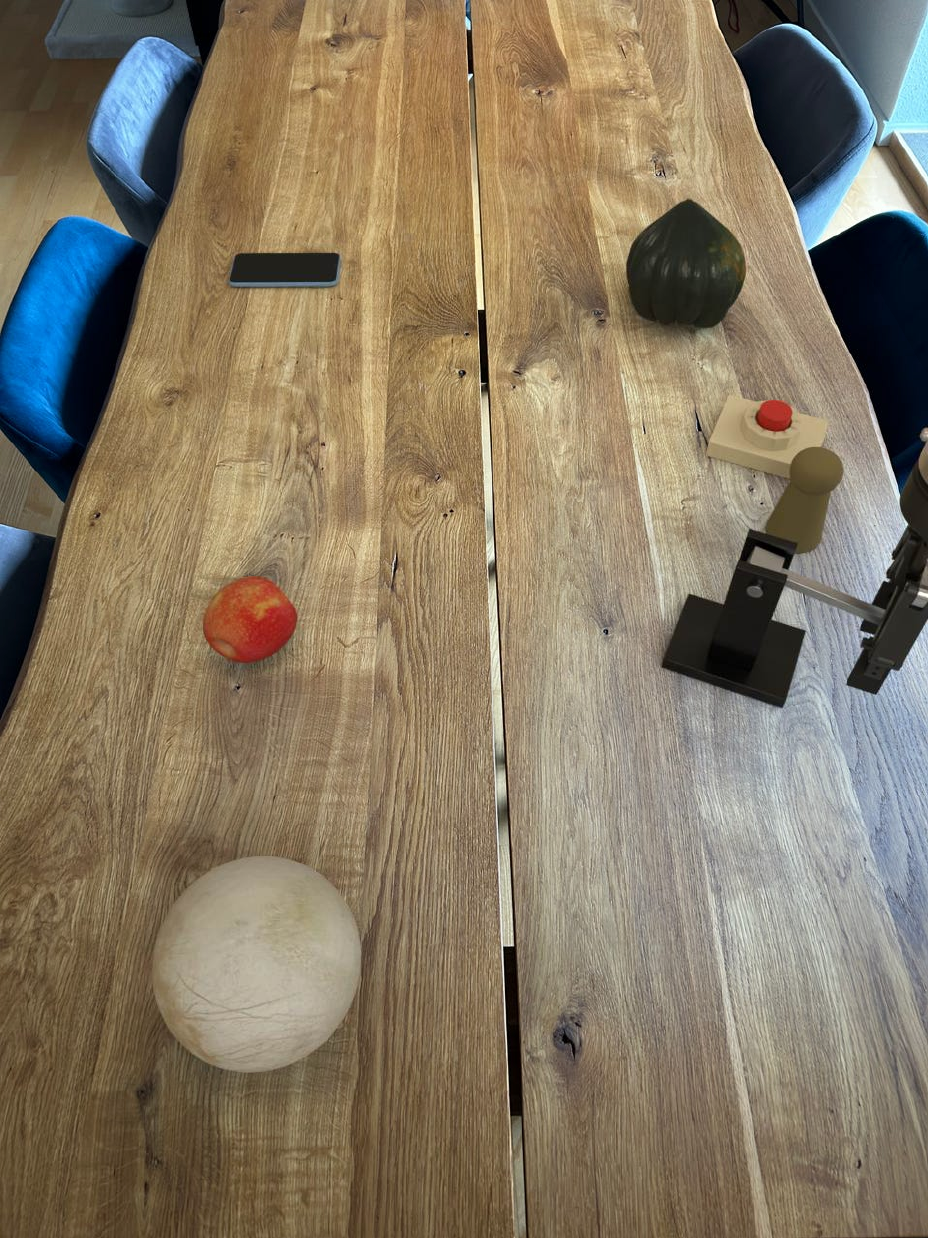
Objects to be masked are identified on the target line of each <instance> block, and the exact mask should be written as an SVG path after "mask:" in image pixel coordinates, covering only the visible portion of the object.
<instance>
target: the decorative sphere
mask: <svg viewBox="0 0 928 1238" xmlns="http://www.w3.org/2000/svg"><path fill="white" fill-rule="evenodd" d="M358 929H359V928H358V925H357V922H356V918H355V916H354V914H353V912H352V910H351V908H350V906H349V905H348V903H347V902H346V900H345V899H344V897H343V896H342V894H341V892H340V891H339V890H338V889H337V888H336V887H335V886H334V885H333V884H332V883H331V882H330V880H328V879H327V878H326V877H324V876H323V875H322V874H320V872H318V871H316V870H315V869H313V868H311V867H309V866H307V864H304V863H301V862H298V861H296V860H292V859H289V858H287V857H280V856H275V855H274V856H273V855H253V856H247V857H241V858H237V859H234V860H231V861H228V862H225V863H223V864H220V865H218V866H216V867H214V868H212V869H210V870H208V871H207V872H206V873H204V874H203V875H201V876H200V877H199V878H197V879H196V880H195V881H194V882H192V883H191V884H190V885H189V886H187V887H186V888H185V889H184V891H183V892H182V893H181V894H180V896H178V898H177V899H176V900H175V901H174V903H173V904H172V906H171V907H170V909H169V911H168V912H167V913H166V915H165V917H164V920H163V922H162V924H161V927H160V928H159V931H158V934H157V937H156V940H155V943H154V949H153V954H152V955H153V956H152V961H151V973H152V974H151V976H152V977H151V978H152V980H151V981H152V986H153V992H154V997H155V1001H156V1005H157V1008H158V1010H159V1012H160V1014H161V1017H162V1019H163V1021H164V1023H165V1026H166V1027H167V1028H168V1030H169V1031H170V1033H171V1034H172V1035H173V1037H174V1038H175V1039H176V1041H178V1043H180V1044H181V1046H183V1048H184V1049H186V1050H187V1051H188V1052H190V1054H192V1055H193V1056H195V1057H197V1058H198V1059H200V1060H201V1061H203V1062H204V1063H207V1064H209V1065H210V1066H211V1065H212V1066H214V1067H217V1068H219V1069H222V1070H225V1071H232V1072H238V1073H265V1072H270V1071H274V1070H276V1069H277V1070H278V1069H281V1068H284V1067H287V1066H289V1065H292V1064H295V1063H296V1062H298V1061H300V1060H302V1059H303V1058H305V1057H307V1056H309V1055H310V1054H312V1053H313V1052H315V1051H317V1049H319V1047H321V1046H322V1045H323V1044H324V1043H325V1042H326V1041H327V1040H328V1039H330V1038H331V1036H333V1034H334V1032H336V1030H337V1029H338V1028H339V1026H340V1025H341V1023H342V1022H343V1020H344V1019H345V1017H346V1015H347V1014H348V1012H349V1010H350V1008H351V1006H352V1003H353V1001H354V998H355V996H356V993H357V989H358V986H359V982H360V976H361V971H362V951H363V950H362V945H361V938H360V933H359V930H358Z"/></svg>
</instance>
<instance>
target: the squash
mask: <svg viewBox="0 0 928 1238" xmlns="http://www.w3.org/2000/svg"><path fill="white" fill-rule="evenodd" d="M625 275H626V281H627V285H628V287H627V288H628V294H629V298H630V302H631V304H632V306H633V309H634V311H635V312H636V313H637V315H639V316H640V317H641V318H642V319H644V320H647V321H650V322H651V321H653V322H658V323H659V324H660V325H662V326H664V327H665V326H667V327H668V326H671V325H673V324H674V323H675V322H677V324H679V325H681V326H685V327H686V326H691V325H692V326H693V327H696V328H699V329H710V328H713V327H716V326H718V325H719V324H720V323H721V322H722V321H723V320H724V318H725V317H726V316H727V315H728V312H729V310H730V308H731V307H732V306H733V305H734V304H735V302H736V301H737V300H738V297H739V295H740V293H741V292H742V290H743V286H744V283H745V279H746V275H747V264H746V257H745V253H744V250H743V247H742V245H741V243H740V242H739V240H738V239H737V237H736V236H735V235H734V234H733V232H731V230H730V229H729V228H728V227H726V226H725V225H724V224H723V223H722V222H721V221H720V220H718V218H716V217H715V216H714V215H712V214H711V213H710V212H709V211H708V210H707V209H705V208H704V207H703V206H702V205H701V204H699V203H698V202H697V201H695V200H693V199H692V198H686V199H685V200H683V201H680V202H679V203H676V205H674V206H673V207H671V208H670V209H669V210H668V211H666V212H664V214H662V215H661V216H660V217H659V218H658V217H657V219H655V220H654V221H653V222H651V223H650V224H648V226H646V227H645V228H644V229H643V230H642V231H641V232H640V233H638V235H637V236H636V238H635V239H634V241H632V243H631V246H630V247H629V252H628V255H627V259H626V263H625Z"/></svg>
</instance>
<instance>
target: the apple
mask: <svg viewBox="0 0 928 1238" xmlns="http://www.w3.org/2000/svg"><path fill="white" fill-rule="evenodd" d="M297 624H298V613H297V609H296V607H295V606H294V604H293V602H292V601H291V600H290V599H289V597H288V596H287V595H286V593H285V592H284V591H283V590H282V589H281V588H280V587H279V586H278V585H277V584H276V583H274V581H272V580H270V579H268V578H265V577H263V576H256V575H249V576H243V577H240V578H237V579H235V580H233V581H231V582H229V583H228V584H226V585H224V586H223V587H222V588H221V589H219V590H218V591H217V592H216V593H215V595H214V596H213V597H212V598H211V600H210V601H209V603H208V605H207V607H206V608H205V612H204V615H203V619H202V632H203V636H204V639H205V641H206V643H207V644H208V645H209V646H210V647H211V648H212V649H213V650H214V651H215V652H216V653H218V654H219V655H221V656H223V657H224V658H226V659H228V660H230V661H233V662H236V663H241V664H249V663H255V662H259V661H263V660H265V659H267V658H270V657H271V656H273V655H274V654H276V653H277V652H279V651H280V650H281V649H282V648H283V647H285V645H287V644H288V642H289V641H290V639H291V638H292V636H293V634H294V632H295V630H296V628H297Z"/></svg>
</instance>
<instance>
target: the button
mask: <svg viewBox="0 0 928 1238" xmlns="http://www.w3.org/2000/svg"><path fill="white" fill-rule="evenodd" d="M764 401H765V402H764V403H762V405H761V406H760V410H759V413H758V417H757V422H758V424H759V426H761V427H762V428H763V429H765V430H769V431H773V432H780V431H784V430H785V429H786V428H787V427H788V426H789V423H790V420H791V417H792V409H791V407H792V406H791V405H789V404H788V403H786V402H785V401H782V400H779V399H769V400H768V399H767V400H764ZM790 406H791V407H790Z"/></svg>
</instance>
